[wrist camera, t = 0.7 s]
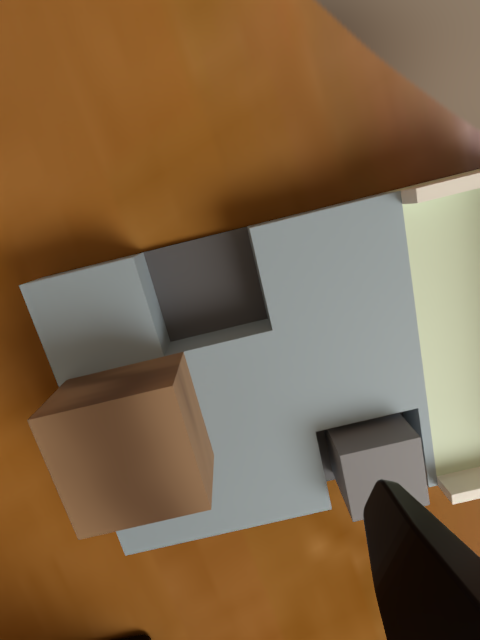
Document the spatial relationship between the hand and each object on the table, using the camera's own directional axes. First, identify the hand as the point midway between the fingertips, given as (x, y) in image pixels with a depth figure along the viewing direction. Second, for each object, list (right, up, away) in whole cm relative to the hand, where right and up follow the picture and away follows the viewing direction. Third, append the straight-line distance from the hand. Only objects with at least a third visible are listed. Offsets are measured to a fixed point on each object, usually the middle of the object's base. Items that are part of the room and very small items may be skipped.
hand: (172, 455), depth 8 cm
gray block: (+9, -4, +15) cm, 18 cm away
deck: (+5, 0, +14) cm, 15 cm away
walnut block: (-4, -2, +12) cm, 13 cm away
